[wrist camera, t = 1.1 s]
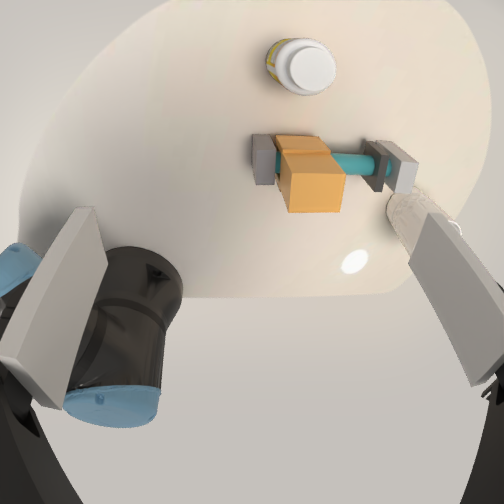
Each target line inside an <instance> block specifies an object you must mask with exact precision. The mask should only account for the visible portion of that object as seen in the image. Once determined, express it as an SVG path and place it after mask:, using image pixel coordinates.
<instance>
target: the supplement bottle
mask: <svg viewBox="0 0 504 504" xmlns="http://www.w3.org/2000/svg"><path fill="white" fill-rule="evenodd" d="M266 66H267V69H268V72H269V73H270V75H271V76H272V77H273V78H274V79H275V80H276V81H277V82H279V83H280V84H281V85H283V86H284V87H285V88H286V89H288V90H289V91H291V92H293V93H295V94H298V95H303V96H310V95H316V94H319V93H321V92H323V91H324V90H326V89H327V88H328V87H329V86H330V85H331V84H332V82H333V81H334V79H335V76H336V61H335V58H334V56H333V54H332V52H331V51H330V50H329V49H328V48H327V47H326V46H325V45H324V44H322V43H321V42H319V41H317V40H313V39H309V38H294V39H284V40H281V41H279V42H277V43H275V44H274V45H273V46H272V47H271V48H270V50H269V51H268V53H267V57H266Z"/></svg>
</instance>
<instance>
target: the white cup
mask: <svg viewBox="0 0 504 504" xmlns="http://www.w3.org/2000/svg"><path fill="white" fill-rule="evenodd" d="M428 212H430V213H442V215H443V216H444V217H445V218H446V219H447V220H448V221H449V223H450V224H451V225H452V226H453V227H454V229H455V230H456V231H457V232H458V233H459V235H460V236H461V237H462V231H461V228H460V226H459V225H458V224H457V223H456V222H455V221H454V220H453V219H452V218H451V217H450V216H449V215H448V214H447V213H446V212H445V211H444V210H443V209H442V208H441V207H439V206H438V205H437V204H436V203H435V202H434V201H433V200H431V199H430V198H429V197H427V196H426V195H425V194H424V193H422V192H421V191H420V190H419V189H417V188H416V187H413V189H412V192H411V194H403V193H395V194H394V195H393V196H392V197H391V198H390V200H389V202H388V204H387V212H386V214H387V217H388V219H389V221H390V223H391V224H392V226H393V228H394V230H395V232H396V234H397V236H398V237H399V239H400V241H401V242H402V244H403V246H404V247H405V249H406V251H407V252H408V254H409V256H410V258H411V255H412V253H413V250H414V248H415V245H416V243H417V240H418V238H419V235H420V233H421V230H422V227H423V225H424V222H425V219H426V217H427V214H428Z"/></svg>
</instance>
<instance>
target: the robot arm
mask: <svg viewBox="0 0 504 504" xmlns="http://www.w3.org/2000/svg"><path fill="white" fill-rule="evenodd" d="M408 264H409V266H410V268H411V269H412V271H413V273H414V274H415V276H416V278H417V280H418V281H419V283H420V285H421V287H422V288H423V290H424V292H425V293H426V295H427V297H428V299H429V301H430V303H431V305H432V306H433V308H434V310H435V312H436V314H437V316H438V318H439V320H440V321H441V323H442V325H443V327H444V329H445V331H446V333H447V335H448V337H449V339H450V341H451V343H452V345H453V347H454V350H455V352H456V354H457V356H458V358H459V360H460V362H461V364H462V366H463V369H464V371H465V373H466V376H467V378H468V380H469V382H470V385H471V387H473V386H477V385H480V384H483V383H485V382H486V381H487V380H488V379H489V378H490V377H491V376H492V375H493V374H494V373H495V374H496V376H497V379H496V380H495V381H494V382H493V383H492V384H491V385H490V386H489V387H488V388H487V389H486V390H485V391H484V392H483V393H482V395H481V397H482V398H483V397H484V396H485V395H487V393H489V392H490V391H491V394H490V395H489V396H488V397H487V398H486V399H487V400H489V407H488V412H487V416H486V421H485V425H484V429H483V433H482V437H481V441H480V445H479V449H478V452H477V456H476V459H475V462H474V465H473V469H472V472H471V475H470V478H469V481H468V484H467V486H466V489H465V492H464V495H463V497H462V500H461V502H460V504H504V289H503V288H502V287H501V286H500V285H499V284H498V283H497V282H496V281H495V280H494V279H493V277H492V276H491V275H490V273H489V272H488V271H487V269H486V268H485V266H484V265H483V264H482V262H481V261H480V260H479V258H478V257H477V256H476V255H475V253H474V252H473V251H472V249H471V248H470V247H469V246H468V244H467V243H466V242H465V241H464V239H463V238H462V237H461V236H460V235H459V233H458V232H457V231H456V230H455V229H454V227H453V226H452V225H451V224H450V223H449V221H448V220H447V219H446V218H445V217H444V216H443V215H442V213H430V212H428V214H427V217H426V219H425V222H424V225H423V227H422V230H421V233H420V235H419V238H418V240H417V243H416V245H415V248H414V250H413V253H412V255H411V258H410V260H409V262H408ZM182 293H183V285H182V281H181V278H180V276H179V274H178V272H177V271H176V269H175V268H174V267H173V266H172V265H171V264H170V263H169V262H168V261H167V260H165V259H164V258H163V257H161V256H159V255H158V254H156V253H153V252H151V251H148V250H145V249H141V248H136V247H120V248H115V249H112V250H109V251H107V252H105V250H104V246H103V243H102V239H101V235H100V231H99V227H98V223H97V219H96V215H95V210H94V207H76V208H75V210H74V211H73V213H72V214H71V216H70V217H69V219H68V220H67V222H66V223H65V225H64V226H63V228H62V229H61V231H60V232H59V234H58V235H57V237H56V238H55V240H54V242H53V243H52V245H51V246H50V248H49V250H48V251H47V253H46V255H45V256H44V258H43V259H42V258H41V257H40V256H39V255H38V254H36V253H35V252H34V251H33V250H32V249H30V248H29V247H28V246H27V245H25V244H23V243H14V244H12V245H10V246H9V247H7V248H6V249H5V251H3V252H2V253H1V254H0V504H83V503H82V501H81V499H80V498H79V496H78V495H77V493H76V491H75V490H74V488H73V487H72V485H71V483H70V481H69V480H68V478H67V476H66V475H65V473H64V471H63V469H62V468H61V466H60V464H59V462H58V460H57V458H56V456H55V454H54V452H53V450H52V448H51V446H50V444H49V443H48V440H47V438H46V436H45V434H44V432H43V430H42V427H41V425H40V423H39V421H38V419H37V416H36V414H35V411H34V410H33V408H32V407H31V405H30V404H31V401H32V399H35V400H36V401H37V402H38V403H39V404H40V405H41V406H44V407H48V408H53V409H58V410H62V407H63V409H64V410H65V411H67V413H68V414H70V415H71V416H73V417H75V418H77V419H79V420H82V421H84V422H87V423H91V424H95V425H99V426H106V427H115V428H131V427H138V426H142V425H145V424H147V423H149V422H151V421H152V420H153V419H154V417H155V416H156V413H157V407H158V402H159V396H160V395H161V379H162V367H163V356H164V345H165V336H166V331H167V329H168V327H169V325H170V323H171V322H172V320H173V318H174V317H175V315H176V313H177V311H178V310H179V308H180V305H181V301H182Z"/></svg>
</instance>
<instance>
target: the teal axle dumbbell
mask: <svg viewBox="0 0 504 504" xmlns="http://www.w3.org/2000/svg"><path fill="white" fill-rule="evenodd" d="M330 155H331V156H332V157H333V158H334V159H335V161H336V162H337V163H338V164H339V166H340V167H341V168H342V170H343V171H344V172H345V173H346V175H361V176H362V178H363V179H364V180H365V181H366V182H367V184H368V185H369V186H370V187H371V188H372V190H373V191H374V192H382V189H383V185H384V182H385V183H386V184H387V185H388V187H389V188H390V189H391V190H392V191H393V192H394V193H403V194H411V192H412V189H413V185H414V181H415V177H416V173H417V169H418V165H419V163H418V162H417V161H416V160H415V159H413V158H412V157H411V156H410V155H408V154H407V153H406V152H405V151H403V150H402V149H401V148H400V147H398V146H397V145H396V144H394V143H393V142H388V141H379V140H377V141H376V143H374V142H372V141H366V144H365V150H364V155H357V154H340V153H331V154H330ZM280 164H281V153H280V152H276V148H275V146H274V144H273V141H272V139H271V137H270V135H266V134H252V168H253V173H254V178H255V183H256V185H274V184H275V173H280Z"/></svg>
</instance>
